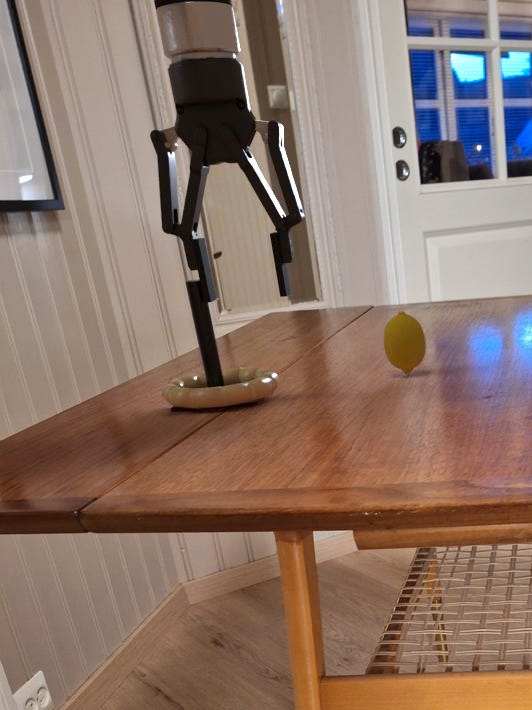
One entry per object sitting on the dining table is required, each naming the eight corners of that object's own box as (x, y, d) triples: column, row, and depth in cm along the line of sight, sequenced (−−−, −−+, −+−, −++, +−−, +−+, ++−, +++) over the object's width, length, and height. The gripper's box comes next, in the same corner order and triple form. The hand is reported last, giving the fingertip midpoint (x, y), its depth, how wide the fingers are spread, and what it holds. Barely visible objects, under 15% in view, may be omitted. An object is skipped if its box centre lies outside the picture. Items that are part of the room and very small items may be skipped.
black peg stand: (173, 420, 101) (142, 287, 94) (194, 403, 109) (167, 279, 102) (249, 415, 101) (224, 281, 94) (265, 398, 109) (242, 273, 102)
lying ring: (151, 413, 98) (146, 394, 97) (183, 388, 110) (179, 370, 109) (268, 405, 98) (265, 385, 97) (288, 380, 110) (285, 362, 109)
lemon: (429, 368, 118) (423, 306, 115) (427, 377, 113) (421, 312, 110) (389, 371, 119) (382, 309, 115) (385, 380, 114) (377, 315, 110)
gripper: (311, 56, 91) (342, 287, 102) (116, 72, 92) (168, 300, 103) (299, 47, 85) (334, 295, 96) (89, 64, 85) (147, 309, 96)
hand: (248, 297), depth 99 cm, fingers open, 8 cm apart
